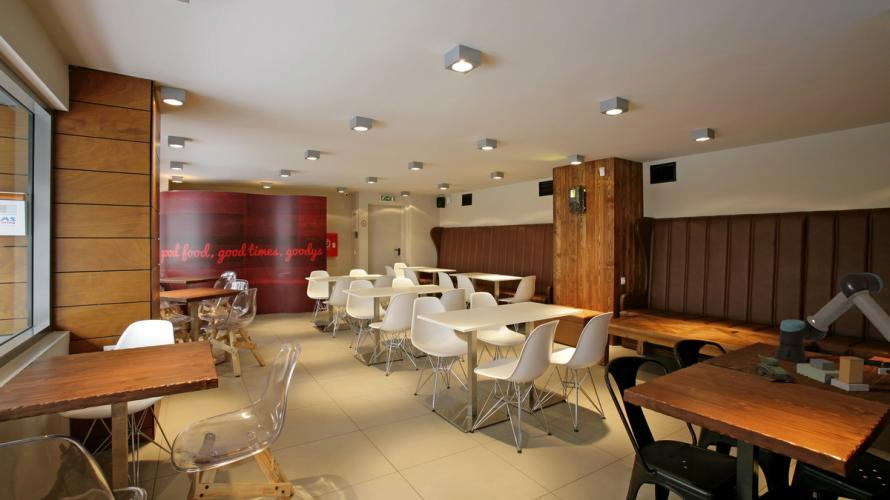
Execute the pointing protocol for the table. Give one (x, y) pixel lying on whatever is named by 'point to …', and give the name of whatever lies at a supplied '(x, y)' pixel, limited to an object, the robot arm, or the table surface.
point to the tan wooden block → (851, 370)
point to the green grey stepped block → (827, 374)
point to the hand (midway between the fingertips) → (864, 366)
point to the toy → (772, 369)
